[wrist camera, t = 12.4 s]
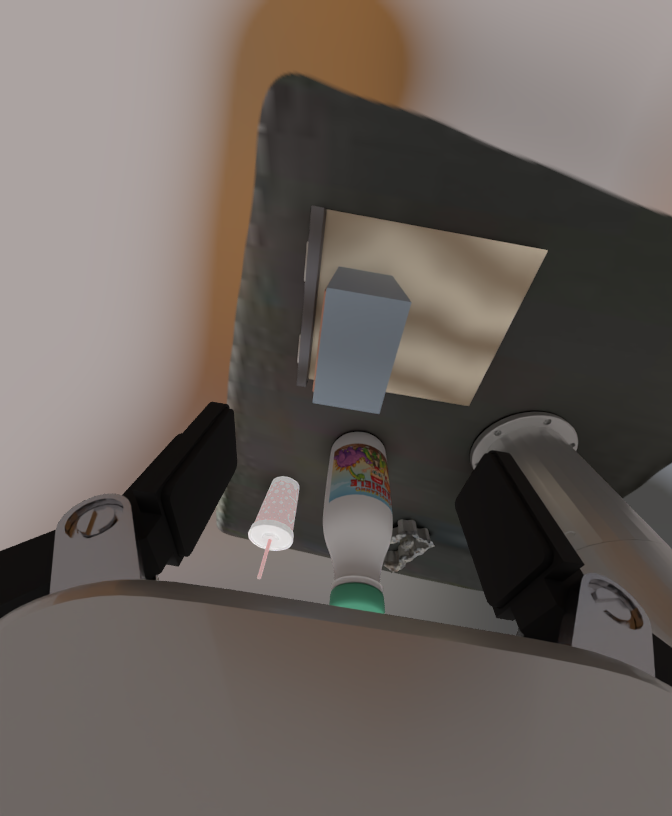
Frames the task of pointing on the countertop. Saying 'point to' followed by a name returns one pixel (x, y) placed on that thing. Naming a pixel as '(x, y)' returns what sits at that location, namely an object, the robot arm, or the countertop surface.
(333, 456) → the milk bottle
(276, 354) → the countertop surface
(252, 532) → the beverage cup
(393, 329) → the carton
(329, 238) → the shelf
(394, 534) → the egg carton
